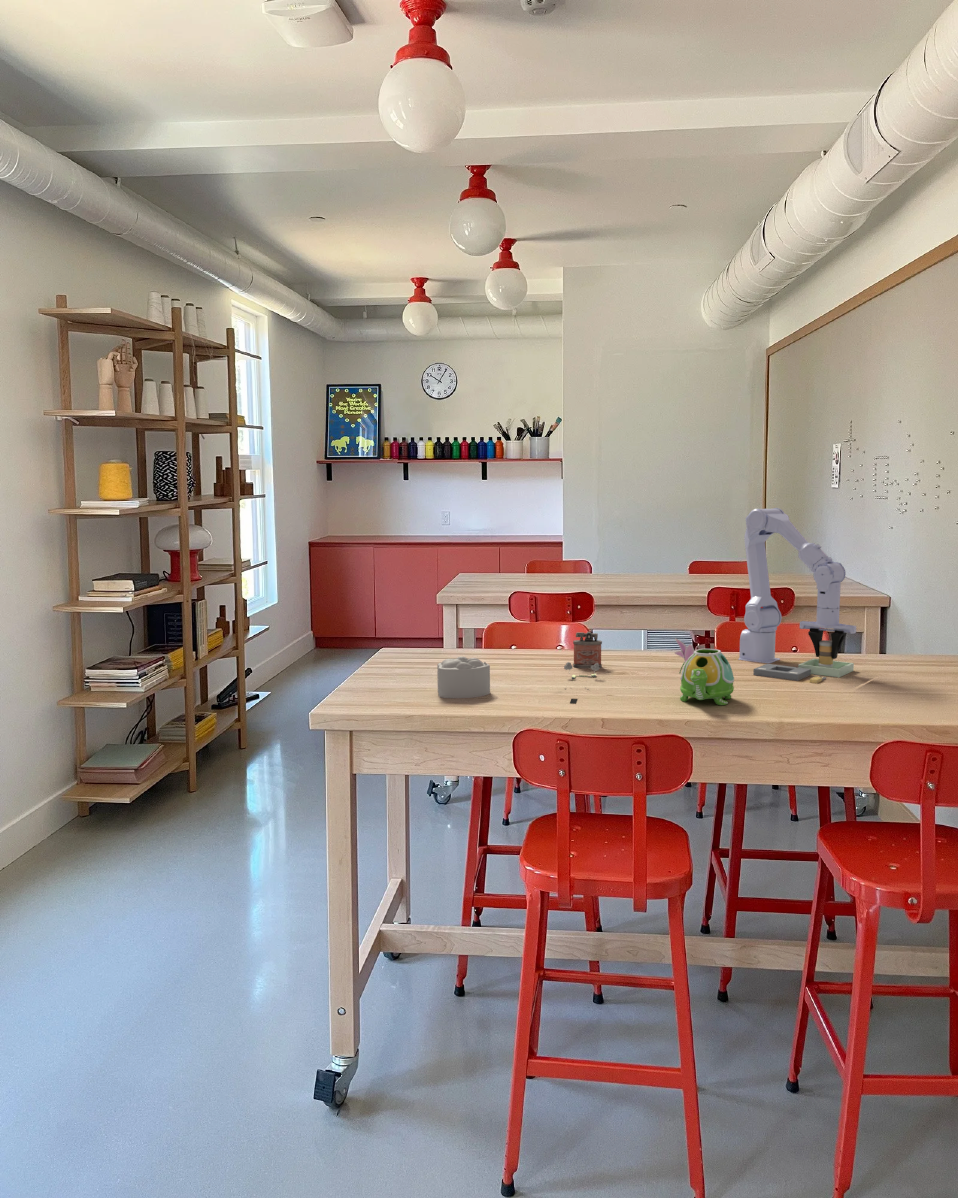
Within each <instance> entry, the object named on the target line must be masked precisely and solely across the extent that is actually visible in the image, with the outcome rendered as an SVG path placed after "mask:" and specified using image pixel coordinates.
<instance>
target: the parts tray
mask: <svg viewBox="0 0 958 1198" xmlns="http://www.w3.org/2000/svg"><path fill="white" fill-rule="evenodd" d="M818 665H819V658H814V657H813V658H812V659H811V658H810V659H809V660H805V661H804V662H801V663H798V666H797V667H798V668H806V669H811V675H817V676H821V677H831V678H838V679H840V678H841V677H843V676H846V675H848V674H849V673H852V672H854V669H855V668H854V667H855V666H854V665H855V663H854V662H848V661H847V662H846V661H839V660H838V661H837V660H833V668H826V667H818Z"/></svg>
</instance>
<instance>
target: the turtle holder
mask: <svg viewBox="0 0 958 1198" xmlns="http://www.w3.org/2000/svg"><path fill="white" fill-rule="evenodd" d="M679 678H680V682H681V683H680V684H681V685H680V687H679V689H680V692H681V694H682V695H681V696H680V698H679V700H680V701H681V702H685V703H686V702H687V701H688V700H689V698H695V699H696V700H699V701H703V700H710V699H713V702H714V703H715V704H716V705H717V706H727V705H728V704H729V702H728V701H727V700H730V699H732V693H733V692H734V691H735V690H734V689H735V688H734V681H735V677H734V673H733V670H732V666H731V664H730V662H729V660H728V659H727V657H726V656H725V655H724V654H723V653H722V651H721V650H720V649H715V648H699V649H696V650H695V649H694V654H692V655H691V656H690V657H689V658H688V660H687V661H686V662H685V664H684V665H683V667H682V670H681V676H680V677H679ZM723 698H724V699H725V700H724V699H723Z"/></svg>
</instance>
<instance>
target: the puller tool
mask: <svg viewBox="0 0 958 1198" xmlns="http://www.w3.org/2000/svg"><path fill="white" fill-rule="evenodd" d="M826 679H827V676H822V675H819V676H814V677H811V678H809V683H812V684H819V683H821V682H822V681H824V680H826Z"/></svg>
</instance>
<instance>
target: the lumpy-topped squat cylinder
mask: <svg viewBox="0 0 958 1198" xmlns="http://www.w3.org/2000/svg"><path fill="white" fill-rule="evenodd" d="M436 667H437V673H436V674H437V675H436V676H437V693H438V697H439V698H443V699H471V698H479V697H484V696H487V695H489V694H491V666H490V664H489V663H487V662H486V661H484V662H483V661H482V660H480V659H479V658H476V657H470V658H467V657H466V656H462V655H461V656H457V657H456V658H445V659H443V660H442V661H441V662H439V663H437V666H436Z"/></svg>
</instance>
